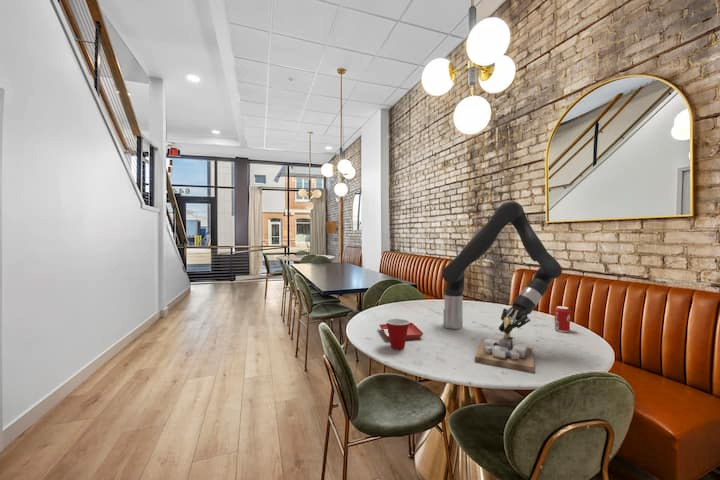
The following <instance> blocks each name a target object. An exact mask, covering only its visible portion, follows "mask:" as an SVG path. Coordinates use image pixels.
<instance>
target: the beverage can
mask: <svg viewBox="0 0 720 480" xmlns="http://www.w3.org/2000/svg"><path fill="white" fill-rule="evenodd" d="M570 324H571V310H570V309H569V307H567V306H560V305H559V306H558V305H556V307H555V309H554V329H555V330H556V331H557V332H560V333H568V332H569V331H571V326H570Z"/></svg>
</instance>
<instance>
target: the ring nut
mask: <svg viewBox="0 0 720 480" xmlns="http://www.w3.org/2000/svg"><path fill="white" fill-rule="evenodd" d="M501 339H505V338H504V335H503V336H502V337H501ZM499 340H500V339H491V338H486V339H485V340H483V341H484V347H483V349H485V351H486V352H487V353H488V354H492V356H495V357H499V358H503V359H506V358H507V357H509V358H510V359H511V360H512V359H519V357H520V358H524V357H525V356H526V355H527V347H528V346H524V345H522V344H516V337H513V336H510V339H505V340H509V341H510V342H511V350H508V348H505V347H501V346H499Z"/></svg>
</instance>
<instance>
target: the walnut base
mask: <svg viewBox="0 0 720 480" xmlns="http://www.w3.org/2000/svg"><path fill="white" fill-rule="evenodd" d="M498 340H499V346H501V347H505V348H508V350H511V342H510V341H509V340H505V339H502V338H500V339H498ZM484 341H485V340H483V339H480V343H479V345H478V347H477V349H476V352H475V354H474V362H475V363H480V364H484V365H490V366H494V367H495V366H496V367H500V368H506V369H512V370H517V371H523V372H528V373H531V374H533V373H535V365H534V354H533V349H534V348H532V347H528V346H526V347H527V355H526V356H525V357H524V358H520V357H519V359H512V360H511V359H510V358H509V357H507V358H506V359H503V358H499V357H495V356H492V354H488V353H487V352H486V351H485V349H483V347H484Z"/></svg>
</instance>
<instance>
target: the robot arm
mask: <svg viewBox="0 0 720 480" xmlns="http://www.w3.org/2000/svg"><path fill="white" fill-rule="evenodd" d="M508 224H511V225H512V227H514V229H515V230H516V232H517V234H518V236H519V238H520V241H521V243H522V246H523V248H524V250H525V252H526V253H527V254H528V256H529V257H530V259H531V260H532V261H533V262H537V263H538V264H539V265H540V267H539V268H538V269H537V270H536V272H535V273H534V275H533V277H532V279H531V280H530V281H529V283H528V284H527V285H526V286H525V288H523V289H522V290H521V292H520V293H519V294H518V295H517V297H516V298H515V299H514V301H513V302H512V306H511V307H509V308H508V309H506V307H505V308H503V309H502V313H501V316H500V317H501V318H500V320H501V321H502V323H501V324H500V325H499V327H498V330H499V331H500V332H502V333H504V332H505V333H506V334H509V333H510V334H511V332H512V331H513V330H514V329H515V328H516V329H520V328H521V327H523V326H525V325H526V324H528V323H529V322H530V321H531V319H530V317H528V315H530V314H532V312H533V311H534V309H535V308H536V307H537V305H538V304H539V303H540V301H541V299H542V298H543V296H544V295H545V293H546V292H548V290H549V286H550V284H551V282H552V281H554V280H555V279H557V278H559V277H561V276H562V274H563V269H562V266H561V264H560V263H559V261H557V260H556V258H555V257H553V255H552V254H550V253H549V251H548V250H547V249H546V247H545V245H544V244H543V243H542V240H541V239H540V238H539V236H538V235H537V233H536V232H535V230H534V229H533V227H532V226H531V224H530V221H529V220H528V218H527V214H526V213H525V211H524V208H523V206H522V205H521V204H520V203H519V202H517V201H515V200H506V201H504V202H502V203H501V204H500V206H498V208H497V209H496V211H495V212H494V213H493V215H492V216H491V218H490V219H489V220H488V221H487V222H486V223H485V224H484V225H483V227H481V228H480V229H479V230H478V232H477V233H476V234H474V236H473V237H472V238H471V239H470V240H469V241H468V243H467V244H466V245H465V246H464V247H463V249H461V251H460V252H459V254H458V255H457V256H456V257H455V258H454V259H453V260H451V262H449V263H448V264H447V265H446V266H445V267H444V268H443V270H442V272H441V274H442V275H441V276H442V279H443V280H444V281H445V282H446V286H445V288H444V308H443V327H444V328H447V329H450V330H461V329H463V324H464V323H463V322H464V321H463V316H464V315H463V307H464V306H463V304H464V302H463V299H464V297H463V292H464V287H465V270H466V269H467V268H468V267H469V266H470V265H472V264H473V263H474V262H476V261H477V260H478V259H480V258H481V257H483V256H484V254H485V253H487V251H488V250H490V249H491V247H492V246H493V244H494V243H495V241H496V240H497V237H498V236H499V234H500V233H501V232H502V230H503V229H504V228H505V227H506V226H507V225H508ZM504 317H509V318H510V324H508V325H507V327H506V328H505V329H504Z"/></svg>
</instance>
